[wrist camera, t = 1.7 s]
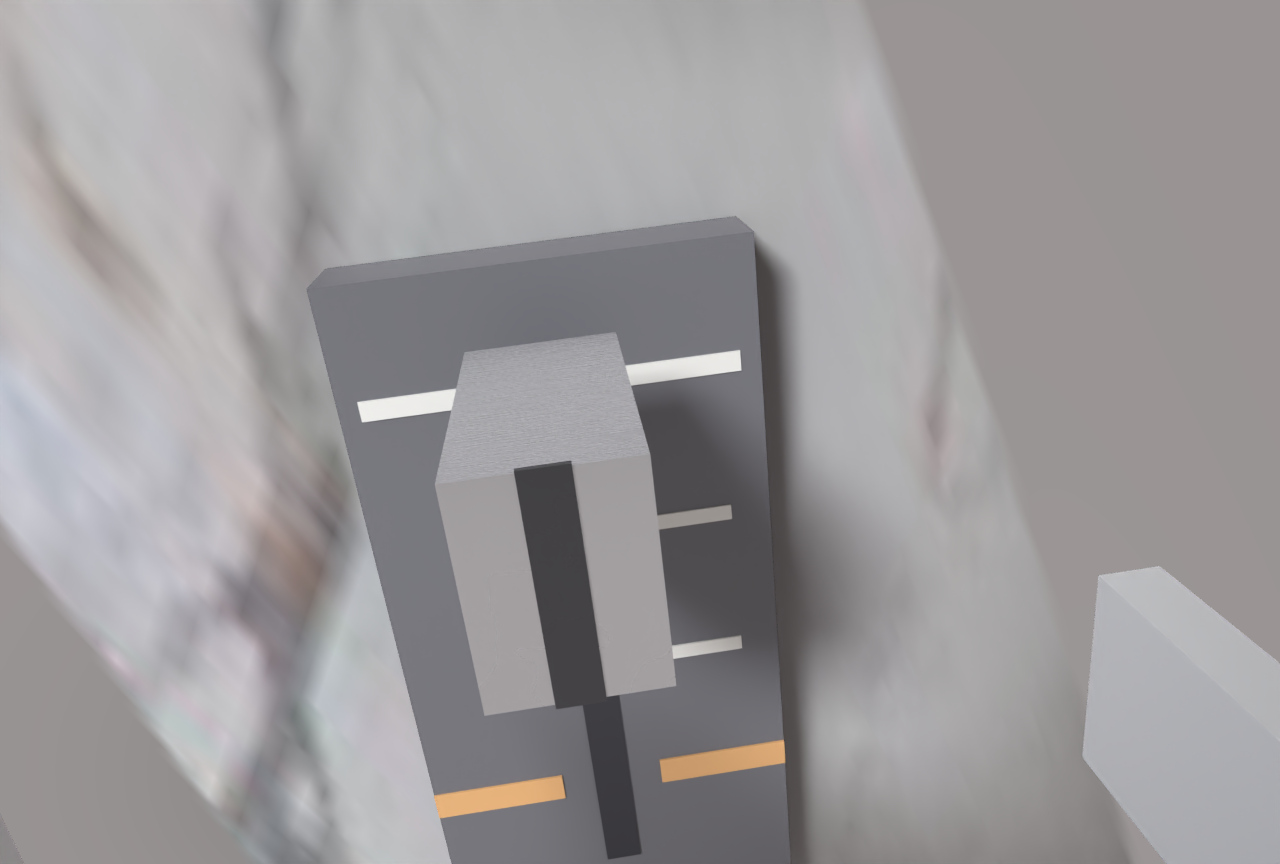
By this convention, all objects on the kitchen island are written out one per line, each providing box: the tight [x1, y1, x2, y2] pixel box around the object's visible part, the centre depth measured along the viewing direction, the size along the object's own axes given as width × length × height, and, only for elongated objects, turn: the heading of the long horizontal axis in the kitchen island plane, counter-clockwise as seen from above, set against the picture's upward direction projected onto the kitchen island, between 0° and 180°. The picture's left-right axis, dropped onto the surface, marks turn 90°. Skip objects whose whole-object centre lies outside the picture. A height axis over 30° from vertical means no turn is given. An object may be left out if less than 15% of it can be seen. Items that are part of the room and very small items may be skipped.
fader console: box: [307, 216, 791, 864], centre depth 26 cm, size 22×10×2 cm, turn 6°
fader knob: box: [435, 332, 676, 716], centre depth 18 cm, size 4×3×9 cm
